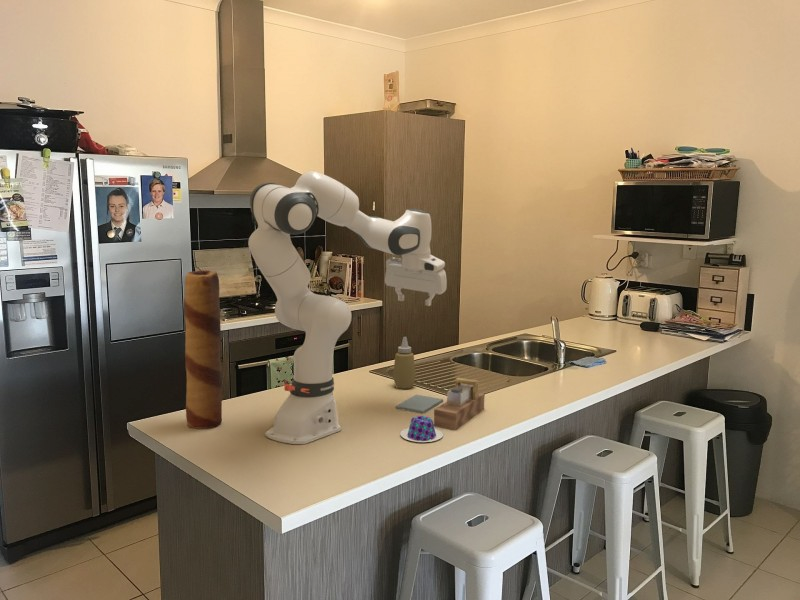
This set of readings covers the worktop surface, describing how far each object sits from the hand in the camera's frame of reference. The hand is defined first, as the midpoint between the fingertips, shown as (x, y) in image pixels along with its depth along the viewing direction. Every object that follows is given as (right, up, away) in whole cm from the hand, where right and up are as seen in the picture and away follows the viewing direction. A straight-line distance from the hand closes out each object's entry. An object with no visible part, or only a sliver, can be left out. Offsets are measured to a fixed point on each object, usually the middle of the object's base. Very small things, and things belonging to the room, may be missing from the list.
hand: (414, 302), depth 208 cm
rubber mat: (+2, -33, +4) cm, 33 cm away
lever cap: (+14, -30, -8) cm, 34 cm away
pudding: (+2, -38, -23) cm, 44 cm away
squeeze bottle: (-3, -30, +24) cm, 38 cm away
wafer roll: (-62, -36, -15) cm, 73 cm away
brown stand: (+14, -35, -7) cm, 38 cm away
